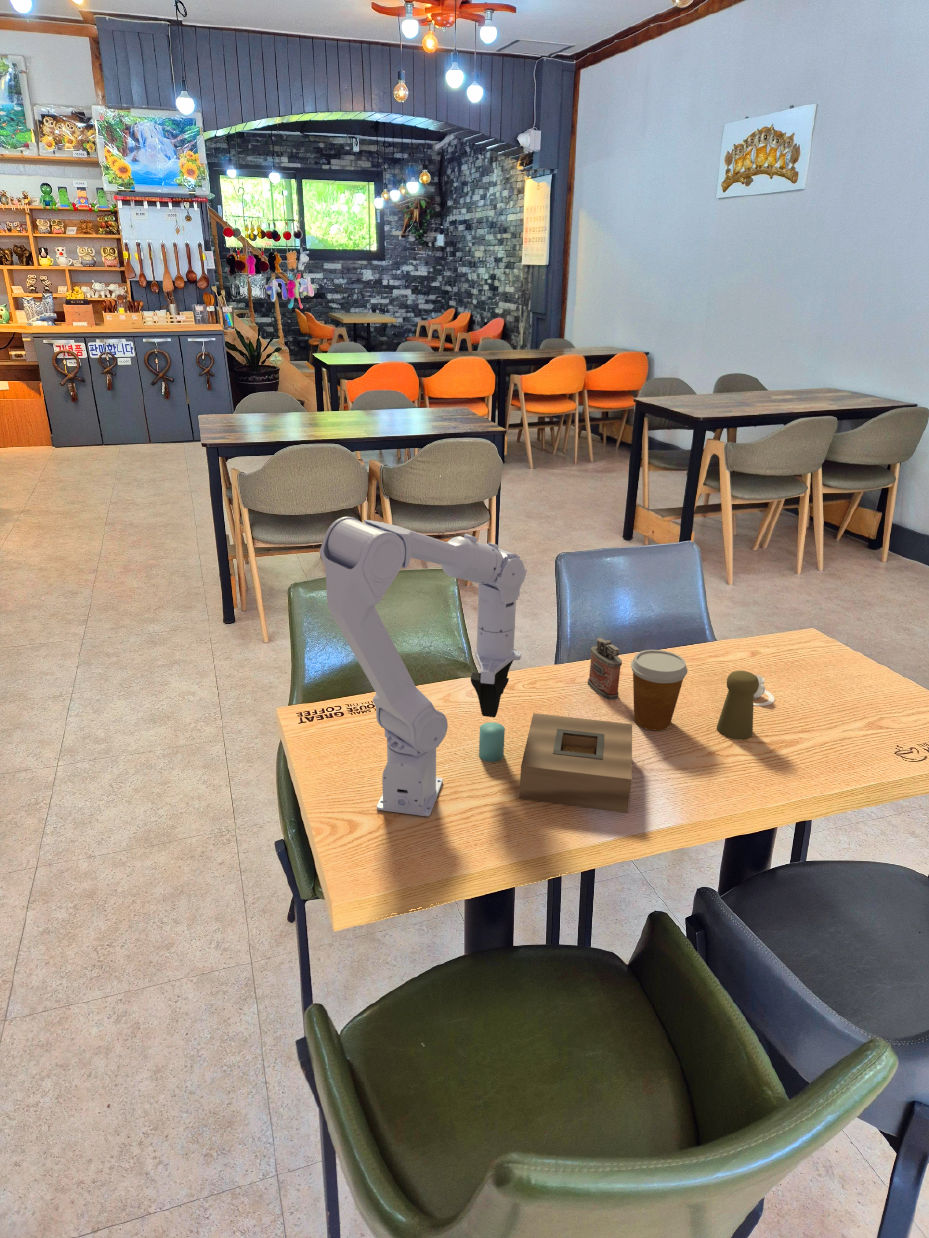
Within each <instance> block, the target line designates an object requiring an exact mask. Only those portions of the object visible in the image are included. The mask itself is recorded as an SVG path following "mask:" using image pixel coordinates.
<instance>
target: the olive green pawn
mask: <svg viewBox="0 0 929 1238" xmlns="http://www.w3.org/2000/svg"><path fill="white" fill-rule="evenodd" d="M755 675H756V674H754V673H753V672H750V671H747V670H734V671H732V672H731V673H729V674H728V676H727V679H726V688H727V694H726V697H725V700H724V703H723V706H722V710H721V713H720V715H719V719H718V720H717V721H718V722H717V725H716V731H717V733H719V734H720V735H721V736H723V737H724V738H728V739H730V740H736V741H743V740H748V739H751V738H752V737H753V734H754V706H753V703H755V702H754V700H755V698H754V694H755V693H756V692H757V690H758V688H759V681H758V678H757V677H756V676H755Z"/></svg>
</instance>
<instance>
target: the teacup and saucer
mask: <svg viewBox="0 0 929 1238" xmlns="http://www.w3.org/2000/svg"><path fill="white" fill-rule="evenodd" d="M754 675H755V676H756V677H757V678H758V681H759V688H758V690H757V692H756V693H755V694H754V699H759V698H760V697H762V696H763V695H764V694H765V695H767V697H768V700H767V701H765V702H760V703H757V702H756V703H755V702H753V707H754V706H756V707H765V706H770V705H772V704H773V703H774V702H775V696H774V694H773V693H771V692H770V691H768V690H766V687H765V681H766V680H765V678H764V677H763V676H761V675H758V674H754Z"/></svg>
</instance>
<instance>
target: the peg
mask: <svg viewBox="0 0 929 1238" xmlns="http://www.w3.org/2000/svg"><path fill="white" fill-rule="evenodd" d="M505 733H506V730H505V727H504V725H503V724H501V723H500V722H499V723H498V722H493V721H492V722H491V721H490V722H485V723H482V724H481V725H480V726H479V744H478V745H479V746H478V749H479V750H478V757H479V758H480V759H481V760H482V761H485V762H488V763H495V762H499V761H501V760H502V759H503V758H504V757H505V756H504V754H505V753H504V752H505Z"/></svg>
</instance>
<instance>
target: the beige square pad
mask: <svg viewBox="0 0 929 1238" xmlns="http://www.w3.org/2000/svg"><path fill="white" fill-rule="evenodd" d="M594 750H595V749H592V748H583V747H575V746H566V745H564V748H563V751H569V752H577V753H585V754H594Z"/></svg>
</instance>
